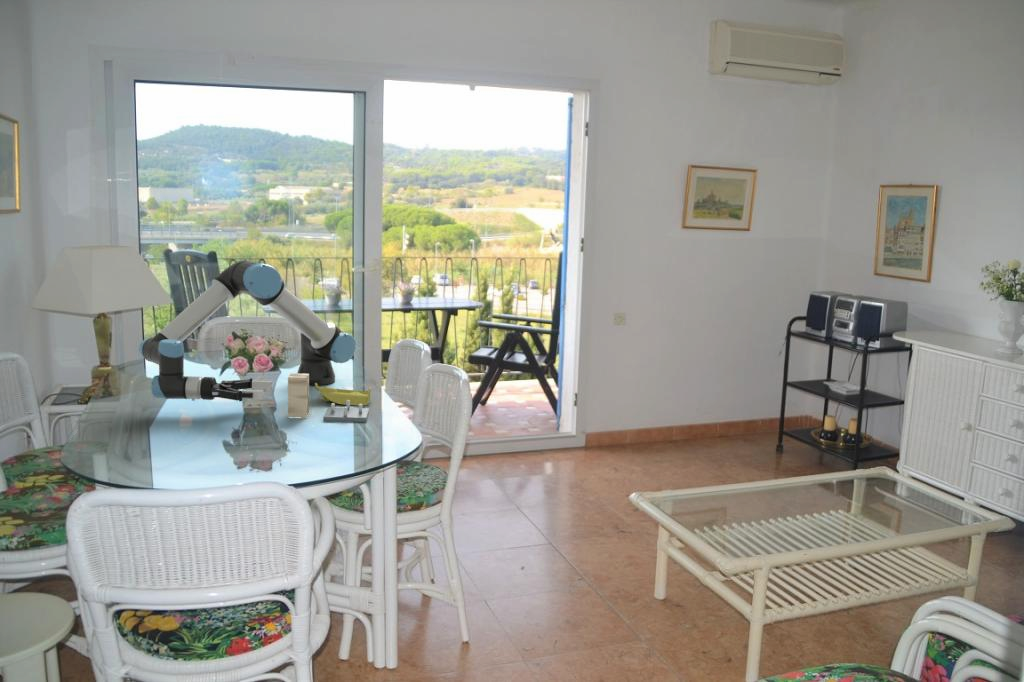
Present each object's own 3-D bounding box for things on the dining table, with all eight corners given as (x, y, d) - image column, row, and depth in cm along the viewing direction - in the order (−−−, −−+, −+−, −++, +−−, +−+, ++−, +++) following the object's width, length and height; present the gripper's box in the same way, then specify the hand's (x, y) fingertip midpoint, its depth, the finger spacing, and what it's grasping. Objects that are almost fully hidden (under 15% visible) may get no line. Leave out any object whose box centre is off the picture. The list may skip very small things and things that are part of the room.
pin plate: (327, 411, 282) (327, 399, 282) (368, 412, 284) (368, 399, 283) (323, 421, 271) (323, 408, 270) (366, 422, 272) (366, 409, 271)
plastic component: (369, 391, 304) (371, 386, 294) (367, 411, 302) (369, 406, 292) (314, 387, 300) (314, 381, 290) (312, 407, 298) (312, 402, 288)
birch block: (290, 413, 278) (290, 373, 276) (308, 413, 279) (309, 373, 276) (287, 418, 272) (287, 377, 270) (306, 418, 273) (306, 377, 270)
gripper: (212, 390, 283) (274, 392, 286) (191, 408, 259) (260, 410, 261) (211, 369, 282) (274, 371, 284) (191, 385, 258) (260, 387, 260)
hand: (267, 390), depth 273 cm, fingers open, 13 cm apart
